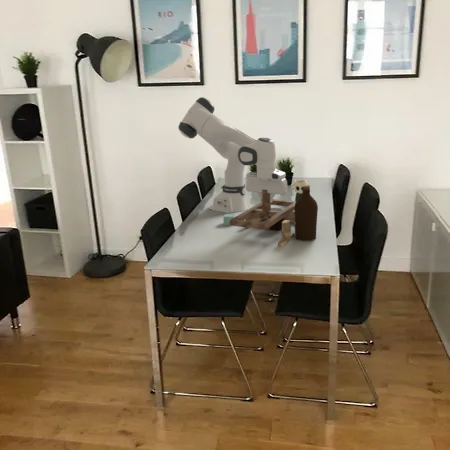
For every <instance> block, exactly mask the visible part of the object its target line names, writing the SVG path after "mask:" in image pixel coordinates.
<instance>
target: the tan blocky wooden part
mask: <svg viewBox="0 0 450 450" xmlns="http://www.w3.org/2000/svg"><path fill="white" fill-rule="evenodd" d="M291 223H292V222H291V221H290V220H285V221H283V222H282V230H281V238H280V239H279V240H278V241H277V247H278V246H280V247H284V246H285V245H286V244H287V243H289V242H290V241H291V240H292V239H294V238H295V232H291V231H292V230H291V229H292V227H291V226H292V225H291Z"/></svg>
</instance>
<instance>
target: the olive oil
mask: <svg viewBox="0 0 450 450" xmlns="http://www.w3.org/2000/svg"><path fill="white" fill-rule="evenodd" d="M294 209H295V210H294V211H295V223H294V231H295V230H296V235H295V239H296V240H297V241H300V242H301V241H302V242H310V241H311V242H312V241H314V240H316V239H317V226H318V223H317V222H318V210H319V205H318V202H317V201H316V199H315V198H314V197H312V195H311V185H310V186H303V194H302V196H301V197H300V198H299V199H298V200H297V201H296V203H295V207H294Z"/></svg>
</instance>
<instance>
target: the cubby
mask: <svg viewBox="0 0 450 450" xmlns="http://www.w3.org/2000/svg"><path fill="white" fill-rule="evenodd" d="M263 220H268V217H265V216H261V215H252V216H250V217H249V218H247V219H245V221H253V222H261V221H263ZM285 220H290V221H291V223H294V222H295V210H294V211H293V212H291V213H290V214H288V215H287V216H285V217H284V218H283V221H285ZM244 228H245V229H249V228H246V227H244ZM294 236H296V230H295V229H294Z"/></svg>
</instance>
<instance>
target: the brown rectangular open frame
mask: <svg viewBox="0 0 450 450" xmlns="http://www.w3.org/2000/svg"><path fill="white" fill-rule="evenodd" d="M269 198H271V196H270V193H267V190H262V202H261V201H260V202H259V203H257V204H256V205H253V206H252V207H251V208H248V209H247V210H245V211H242V212H241V213H240V214H238V215H237V216H234V218H233V219H231V220H230V225H229V226H232V227H241V228H245V227H246V228H245V229H247V228H248V229H255V230H263V231H267V230H269V227H271V226H272V225H274V224H275V223H277V222H278V221H279V220H281V219H282V218H284V217H285V216H287V215H288V214H290V213H291V212H293V211H295V209H294V207H295V203H296V201H295V200H284V199H274V198H273V202H272V203H269V202H268V199H269ZM272 206H279V207H285V208H282V209H283V210H281V211H273V210H271V208H272ZM252 215H261V216H265V217H268V216H269V217H271V218H269V219H265V221H263V222H261V221H260V222H253V221H245V219H247V218H249V217H250V216H252Z"/></svg>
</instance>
